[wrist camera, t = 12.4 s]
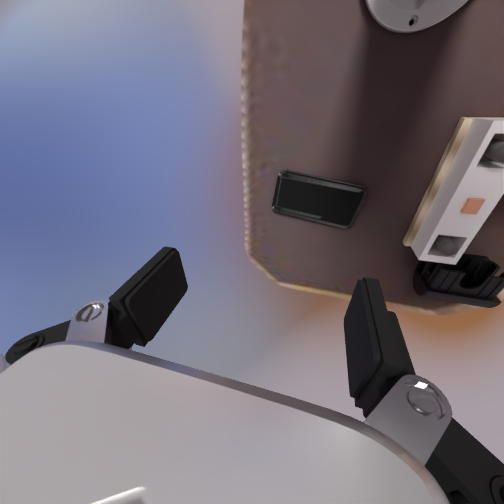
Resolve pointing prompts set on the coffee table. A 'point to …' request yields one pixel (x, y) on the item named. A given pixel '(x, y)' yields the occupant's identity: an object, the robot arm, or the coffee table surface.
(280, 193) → the phone
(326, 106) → the coffee table surface
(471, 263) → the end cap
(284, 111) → the coffee table surface
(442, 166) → the board
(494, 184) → the white long block
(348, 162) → the coffee table surface
